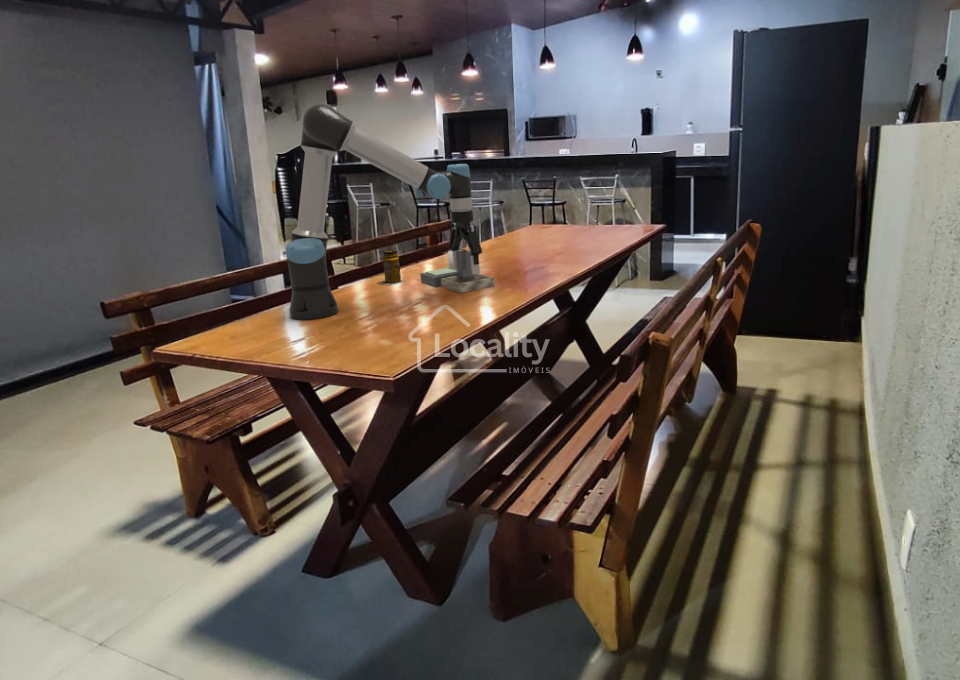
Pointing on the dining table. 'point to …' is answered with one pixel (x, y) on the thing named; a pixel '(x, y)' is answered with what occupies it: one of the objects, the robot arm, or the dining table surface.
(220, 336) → the dining table surface
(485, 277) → the trough
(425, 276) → the checker base
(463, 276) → the cell
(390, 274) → the condiment
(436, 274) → the checker pad
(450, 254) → the white bottle
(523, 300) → the dining table surface
